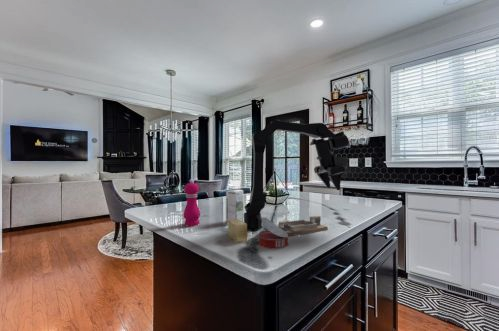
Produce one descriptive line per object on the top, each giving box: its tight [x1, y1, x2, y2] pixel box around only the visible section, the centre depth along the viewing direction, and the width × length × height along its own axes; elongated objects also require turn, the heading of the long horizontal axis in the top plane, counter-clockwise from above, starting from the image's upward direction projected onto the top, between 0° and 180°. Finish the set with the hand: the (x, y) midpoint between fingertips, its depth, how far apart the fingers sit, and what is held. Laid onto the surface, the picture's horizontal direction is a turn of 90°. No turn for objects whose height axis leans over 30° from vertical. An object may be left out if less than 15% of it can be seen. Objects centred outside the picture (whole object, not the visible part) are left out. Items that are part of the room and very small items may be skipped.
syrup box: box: [225, 188, 244, 223], centre depth 111 cm, size 6×6×14 cm
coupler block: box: [227, 219, 248, 244], centre depth 86 cm, size 4×8×6 cm, turn 25°
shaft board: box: [277, 215, 329, 237], centre depth 97 cm, size 10×20×4 cm, turn 115°
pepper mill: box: [182, 178, 201, 227], centre depth 107 cm, size 7×7×20 cm
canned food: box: [258, 216, 289, 250], centre depth 81 cm, size 11×10×10 cm
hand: (333, 188), depth 103 cm, fingers open, 9 cm apart
